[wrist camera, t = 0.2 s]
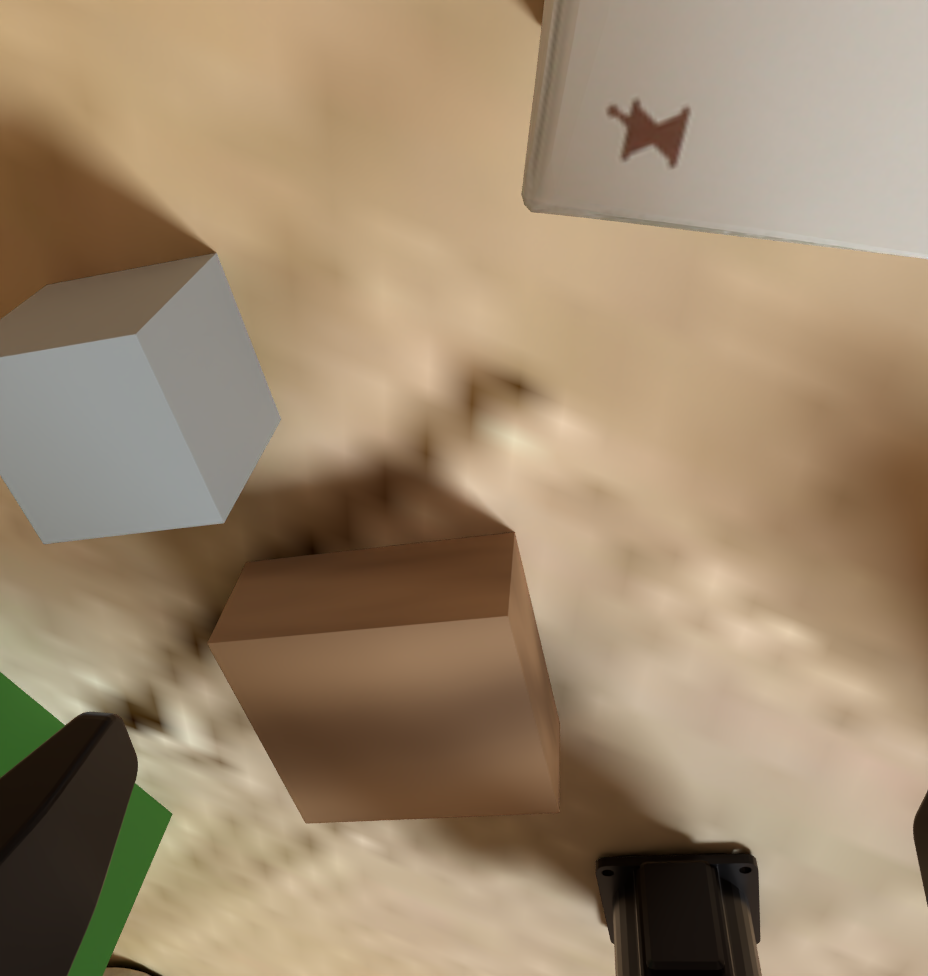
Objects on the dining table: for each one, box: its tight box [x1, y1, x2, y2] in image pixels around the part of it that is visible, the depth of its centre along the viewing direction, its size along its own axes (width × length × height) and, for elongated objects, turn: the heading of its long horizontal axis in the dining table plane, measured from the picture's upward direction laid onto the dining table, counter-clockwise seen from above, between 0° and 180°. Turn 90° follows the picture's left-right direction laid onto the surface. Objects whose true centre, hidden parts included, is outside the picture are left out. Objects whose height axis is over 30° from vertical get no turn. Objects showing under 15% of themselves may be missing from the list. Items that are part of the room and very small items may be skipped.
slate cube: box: [0, 253, 281, 544], centre depth 21 cm, size 5×5×5 cm
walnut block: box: [207, 532, 560, 823], centre depth 28 cm, size 9×9×4 cm
